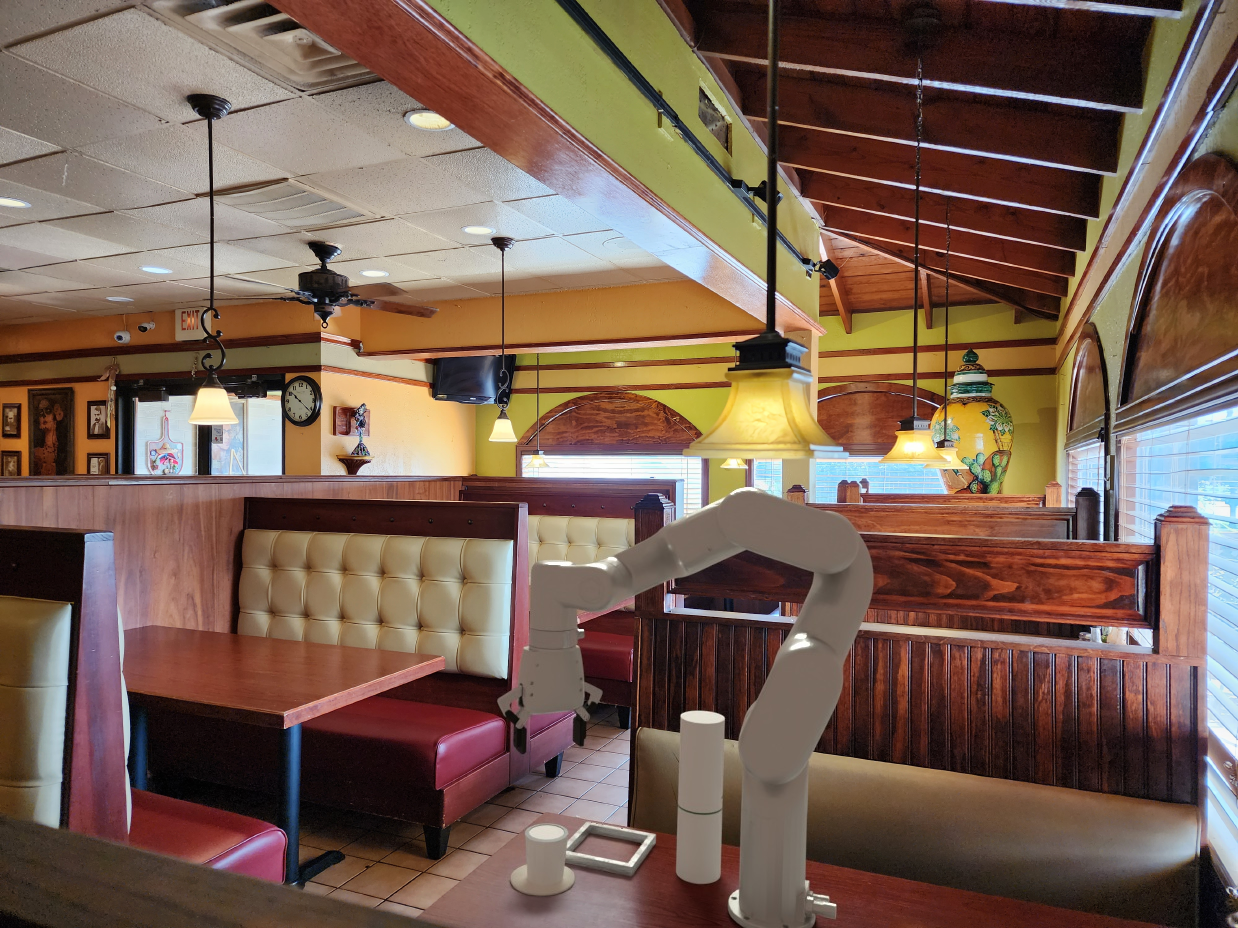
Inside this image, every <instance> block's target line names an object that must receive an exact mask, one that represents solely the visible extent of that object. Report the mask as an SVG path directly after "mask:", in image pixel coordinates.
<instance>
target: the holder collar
mask: <svg viewBox="0 0 1238 928" xmlns="http://www.w3.org/2000/svg"><path fill="white" fill-rule="evenodd" d="M596 823H597V822H592V823H591V821H585V823H584V824H583V825H582V826H581V827H580V828H579V829H578V830H577V831H575V833H574V834H573V835H572V836H571V837H570V838H568V841H567V850H566V858H565V864H568V865H575V866H577V867H583V868H589V869H593V870H598V871H603V872H608V873H613V874H618V875H621V876H627V877H633V876H634V874H635V873H636V871H637V870H638V868H640V866H641V864H642V863H643V861H644V860H645V859H646V857H647V856H648V854H649V853H650V852H651V850H652V849H653V847H654V846H655V845H656V843H657V834H656V833H650V832H647V831H646V832H645V831H640V830H635V829H630V828H624V827H619V826H613V825H607V824H603V825H602V823H598V824H596ZM621 828H623V829H621ZM589 834H591V835H597V836H604V837H609V838H615V839H617V840H618V839H619V840H623V841H630V842H634V843H638V844H639V843H640V844H641V845H640V846H639V848H638V849H637V851H636V852H635V853H634V855H632V857H631V858H630V860H629V861H628V862H624V861H619V860H616V859H615V860H614V859H609V858H604V857H601V856H594V855H590V854H584V853H581V852H580V853H579V852H574V851H575V849H577V848H578V846H579V845H580V844H581V843H582V842H583V841H584V840H585V839H586V837H588V835H589Z"/></svg>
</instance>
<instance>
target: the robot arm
mask: <svg viewBox="0 0 1238 928" xmlns="http://www.w3.org/2000/svg"><path fill="white" fill-rule="evenodd" d="M746 550H747V551H749V552H752V553H755V554H757V555H759V556H760V555H761V556H763V557H767V558H770V559H772V560H775V561H778V562H782V563H785V564H787V565H788V564H789V565H791V566H793V567H797V568H799V569H803V570H806V571H808V572H813V579H812V584H811V585H810V586H811V587H810V589H809V591H808V593H807V596H806V598H805V599H804V600H805V601H803V604H802V607H801V609H800V612H799V614H798V616H797V618H796V620H795V622H794V623H793V626H792V627H791V630H790V631H789V633H788V635H787V637H786V638H785V640H784V641H783V643H781V644H782V645H781V646H780V647H779V649H778V650H777V653H776V655H775V659H774V662H773V665H772V668H771V669H770V672H769V673H768V676H767V678H766V680H765V683H764V684H763V687H762V689H761V691H760V693H759V695H758V697H757V699H756V700H755V701H754V702H753V703H752V704H750V707H749V708H748V710H747V712H746V713H745V716H744V718H743V722H742V725H741V728H740V732H739V736H738V742H737V743H738V745H737V747H738V748H737V749H738V750H737V751H738V753H739V754H738V755H739V759H740V761H741V763H742V781H741V783H742V784H741V807H740V808H741V809H740V811H741V812H740V839H739V840H740V841H739V843H740V844H739V874H738V875H739V876H738V877H739V880H738V889H736V890H735V891H734V892H732V893H731V894H730V896H729V897H728V900H727V910H728V914H729V915H730V917H731V918H732V920H733V921H735V923H736V924H738V925H739V926H741V927H743V928H813V927H814V926H815V922H816V915H817V916H822V918H823V917H824V918H829V919H833V920H836V918H837V904H836V903H832V902H830V896H829V895H824V894H816V893H814V891H813V890H810V880H806V869H807V868H806V866H807V865H806V862H807V857H806V855H807V829H808V827H807V826H808V825H807V823H808V821H807V819H808V804H809V803H808V801H809V800H808V797H809V768H810V767H809V763H810V761H809V760H810V759H811V756H812V755H813V753H814V750H815V748H816V747H817V745H818V743H819V741H820V739H821V738H822V737H821V736H822V735H823V733H824V731H825V729H826V727H827V725H828V723H829V721H830V719H831V717H832V714H833V712H834V711H835V708H836V706H837V704H838V701H839V699H840V696H841V693H842V691H843V685H844V671H843V670H844V665H845V661H846V659H847V656H848V654H849V652H850V650H851V648H852V646H853V643H854V642H855V640H856V637H857V635H858V632H859V631H860V627H861V625H862V623H863V621H864V619H865V616H866V614H867V612H868V609H869V607H870V603H871V600H872V595H873V589H874V569H873V562H872V558H871V554H870V551H869V549H868V546H867V545H866V543H865V541H864V539H863V538H862V536H861V534H860V533H859V532H858V530H857V529H856V528H855V526H854V525H853V523H852V522H851V521H850V520H849V519H848V517H845V515H842V514H841V513H838V512H835V511H833V510H823V509H818V508H815V507H813V506H809V505H805V504H802V503H799V502H796V501H791V500H788V499H786V498H782V497H779V496H776V495H773V494H771V493H768V492H767V491H766V490H764V489H761V488H758V487H752V486H751V487H748V486H747V487H742V488H737V489H735V490H733V491H731V492H730V493H728V494H727V495H726V496H724V497H722V498H720V499H717V500H716V501H714V502H712V503H709V504H707V505H705V506H703V507H701V508H699V509H697V510H695V511H693V512H690V513H689V514H686V515H684V516H681V517H680V518H677V519H675V520H673V521H671V522H669V523H668V524H665V525H664V526H663V527H661V528H660V529H659V530H658V531H657V532H656V533H654V534H653V535H652V536H649V537H648V538H646V539H645V540H643V541H640V542H639V543H636V544H634V545H632V546H630V547H628V548H626V549H623V550H622V551H620V552H618V553H616V554H613V555H611V556H609V557H607V558H604V559H600V560H597V561H595V562H594V561H593V562H591V563H586V564H584V563H583V564H576V563H575V562H572V561H570V560H563V559H544V560H538V561H536V562H534V563H533V564H532V566H531V569H530V586H529V587H530V589H529V590H530V591H529V592H530V593H529V595H530V596H529V624H528V625H529V632H528V633H529V635H528V645H527V646H523V650H522V653H521V658H520V662H519V669H518V678H517V685H516V686H515V687H514V688H513V689H511V690H510V691H508V692H506V693H505V694H503V695H502V696H500V697H498V698H497V704H498V706H499V709H500V710H501V712H502V714H503V716H504V717H505V718H506V719H507V720H508V721H509V722H510V723H511V724H513V735H512V745H513V747H514V749H516V751H517V752H519V754H520V755H526V753H527V738H528V737H527V736H528V735H527V734H528V728H527V727H525V725H526V723H527V722H528V721H529V720H530V718H531V717H532V715H534V716H535V715H536V716H537V715H545V714H547V715H548V714H557V713H564V712H573V713H574V714H575V716H573V719H572V742H573V743H575V744H576V745H577V746H578V747H579V748H581V747H583V748H584V746H585V739H587V723H588V721H589V720H590V718H591V715H592V714H593V713H594V711H596V710H597V708H598V703H599V702H600V700H601V698H602V695H603V690H602V689H600V688H598V687H596V686H594V685H592V684H591V683H588V682H585V675H584V674H585V673H584V672H585V671H584V665H583V657H582V652H581V648H580V647H581V646H579V645H577V644H578V643H579V641H578V640H580V639H584V638H585V630H584V629H579V627H578V610H579V611H584V612H587V613H602V612H606V611H607V610H610V609H611V608H613V607H615V606H616V605H618V604H620V603H622V602H624V601H626V600H627V599H631V598H632V597H634V596H637V595H639V594H641V593H643V592H646V591H648V590H650V589H652V588H653V587H656V586H659V585H661V584H663V583H665V582H668V581H671V580H674V579H679V578H685V577H688V576H691V575H693V574H695V573H698V572H700V571H703V570H705V569H706V568H709V567H711V566H712V565H715V564H717V563H720V562H721V561H723V560H727V559H728V558H730V557H733V556H735V555H737V554H739V553H742V552H744V551H746ZM585 692H587V694H590V696H589V699H588V700H587V701H586V702H585ZM514 701H516V705H517V706H518V707H519V708H518V709H517V710H516V711H515V713H514V712H513V709H511V708H512V707H511V703H512V702H514ZM584 702H585V703H584Z"/></svg>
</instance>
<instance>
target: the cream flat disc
mask: <svg viewBox="0 0 1238 928" xmlns="http://www.w3.org/2000/svg"><path fill="white" fill-rule="evenodd" d="M575 879H576V877H575V873H574V871H573V870H572V869H570V867H568V866H566V865H565V866H564V874H563V879H562V880H561V881H560V882H558V883H557V884H553V885H548V886H541V885H536V884H533V883H531V882H530V881H529V880H528V878H527V863H526V864H523V865H522V866H519V867H518V868H515V869H514V870H513V872H512V873H511V874H510V883H511V886H512V887H513V888H514V889H515V890H516V891H518V892H520V893H522V894H525V895H528V896H535V897H548V896H549V897H550V896H555V895H559V894H562V893H564V892H566V891H568V890H569V889H571V888H572V887H573V885H574V884H575Z"/></svg>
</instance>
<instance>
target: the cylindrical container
mask: <svg viewBox="0 0 1238 928" xmlns="http://www.w3.org/2000/svg"><path fill="white" fill-rule="evenodd" d="M725 719H726V718H725V716H724V715H722V714H720V713H717V712H714V711H707V710H690V711H685V712H682V713H681V714H680V721H679V723H680V725H679V726H680V727H679V728H680V729H679V730H680V731H679V754H678V755H679V760H678V761H679V762H678V763H679V764H678V788H677V789H678V791H677V792H678V793H677V796H678V797H677V826H676V827H677V828H676V865H675V873H676V875H677V877H679V878H680V879H681V880H683V881H685V882H688V883H691V884H697V885H705V884H711V883H714V882H716V881H719V879H720V878H721V870H722V869H721V867H722V865H721V864H722V862H721V861H722V836H723V834H722V831H723V830H722V829H723V797H724V796H723V795H724V765H725V764H724V762H725V761H724V760H725V759H724V758H725V757H724V756H725V755H724V754H725V726H726V725H725V723H726V722H725V721H726V720H725Z"/></svg>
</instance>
